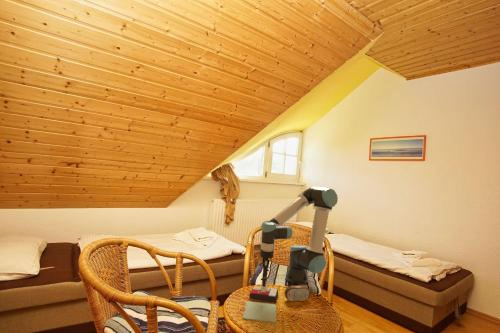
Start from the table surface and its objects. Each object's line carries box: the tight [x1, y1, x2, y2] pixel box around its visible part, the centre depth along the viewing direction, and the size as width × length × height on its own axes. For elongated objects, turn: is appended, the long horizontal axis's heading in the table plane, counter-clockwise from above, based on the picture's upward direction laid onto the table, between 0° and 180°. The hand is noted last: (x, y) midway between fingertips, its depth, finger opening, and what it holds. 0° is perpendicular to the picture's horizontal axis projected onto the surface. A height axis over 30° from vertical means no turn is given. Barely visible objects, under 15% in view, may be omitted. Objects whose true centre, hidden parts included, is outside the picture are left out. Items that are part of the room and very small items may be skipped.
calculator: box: [249, 286, 279, 304], centre depth 164 cm, size 11×4×15 cm
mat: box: [242, 300, 277, 324], centre depth 146 cm, size 16×18×1 cm
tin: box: [284, 284, 311, 302], centre depth 162 cm, size 15×3×8 cm, turn 105°
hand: (263, 287), depth 164 cm, fingers open, 13 cm apart
